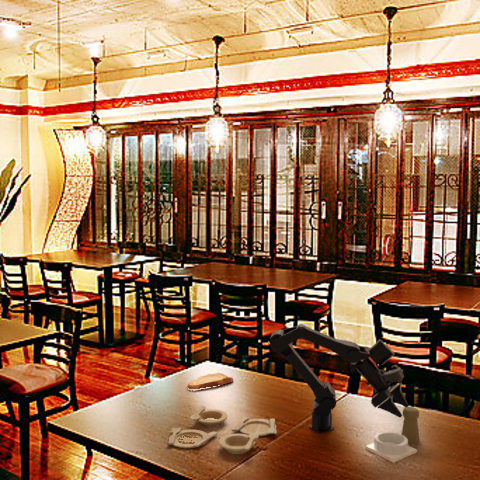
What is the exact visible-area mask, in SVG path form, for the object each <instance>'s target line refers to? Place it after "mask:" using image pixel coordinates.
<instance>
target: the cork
mask: <svg viewBox="0 0 480 480" xmlns="http://www.w3.org/2000/svg"><path fill="white" fill-rule="evenodd" d="M419 416H420V412H419V410H418V408H416V407H414V406H408V407H404V408H403V410H402V417H403V424H402V430H401V435H404V436H405V437H406V438H407V439H408V445H409V446H410V445H414V446H415V445H419V444H420V442H421V441H420V433H419V432H420V431H419V423H418V422H419V420H418V419H419Z"/></svg>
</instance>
